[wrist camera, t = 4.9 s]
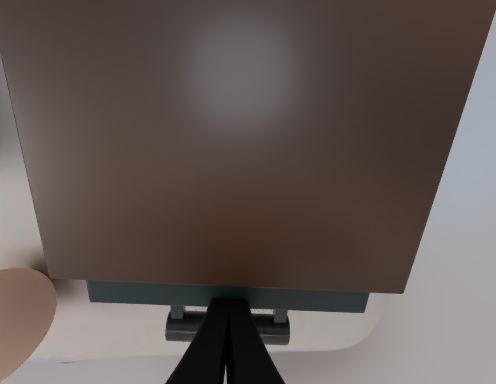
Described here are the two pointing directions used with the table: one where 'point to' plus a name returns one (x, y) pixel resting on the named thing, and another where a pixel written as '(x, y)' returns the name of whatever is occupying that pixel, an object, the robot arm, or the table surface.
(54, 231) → the cabinet
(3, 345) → the egg
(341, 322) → the table surface
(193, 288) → the drawer
